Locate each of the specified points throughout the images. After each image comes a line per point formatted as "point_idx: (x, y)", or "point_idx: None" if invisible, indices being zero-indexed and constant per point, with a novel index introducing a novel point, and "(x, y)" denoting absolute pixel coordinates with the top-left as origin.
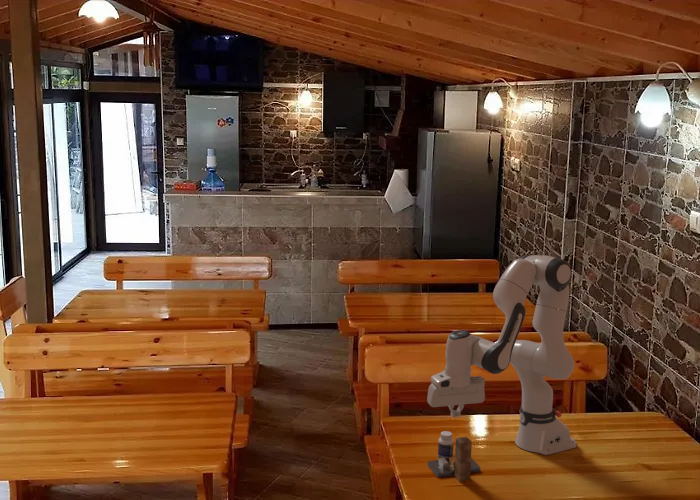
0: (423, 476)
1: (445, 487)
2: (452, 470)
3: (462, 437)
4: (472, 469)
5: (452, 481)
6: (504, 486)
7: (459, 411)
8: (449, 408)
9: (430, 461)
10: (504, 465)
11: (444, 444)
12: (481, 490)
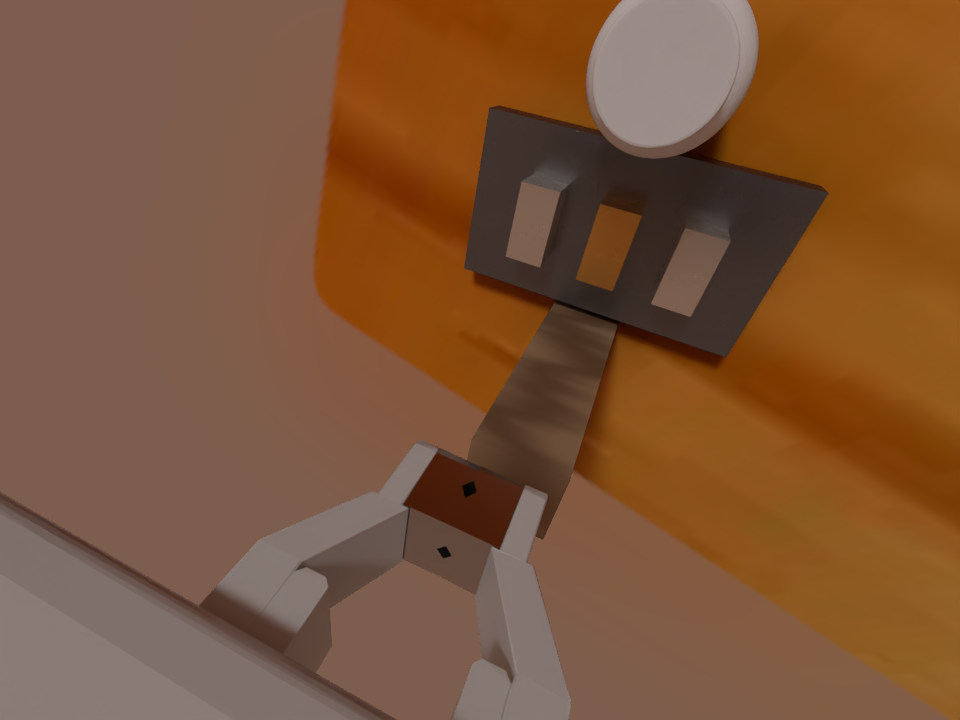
0: (417, 211)
1: (459, 344)
2: (552, 289)
3: (526, 466)
4: (670, 336)
5: (515, 327)
6: (693, 488)
7: (483, 608)
8: (313, 532)
9: (503, 120)
10: (949, 384)
11: (602, 132)
12: None
